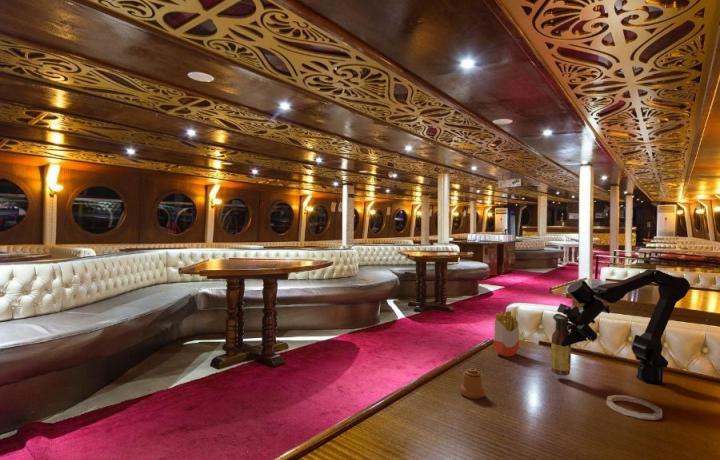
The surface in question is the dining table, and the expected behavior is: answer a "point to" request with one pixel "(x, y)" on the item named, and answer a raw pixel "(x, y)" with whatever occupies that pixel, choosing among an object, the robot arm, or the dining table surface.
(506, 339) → the french fries container
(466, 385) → the ornamental finial
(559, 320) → the sauce bottle
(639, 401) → the white faceted ring
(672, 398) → the dining table surface
